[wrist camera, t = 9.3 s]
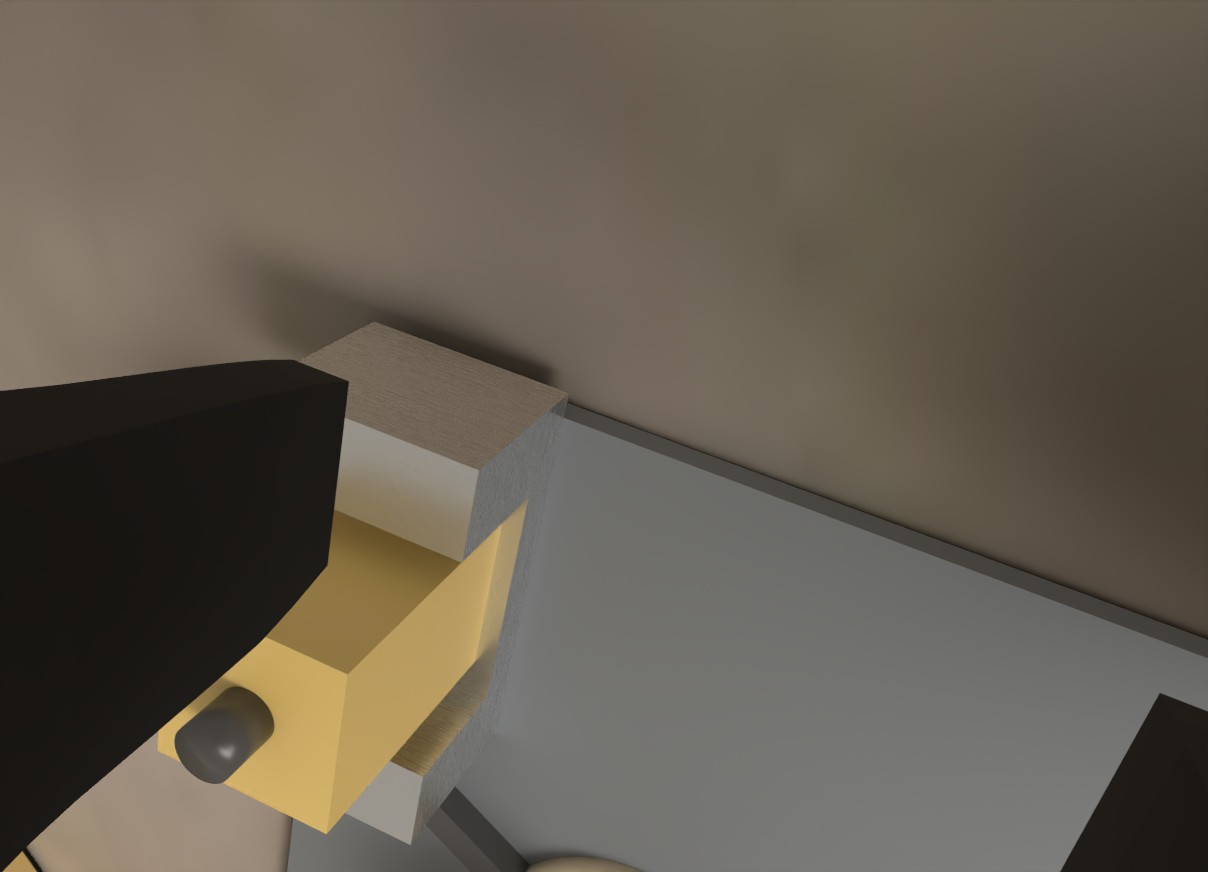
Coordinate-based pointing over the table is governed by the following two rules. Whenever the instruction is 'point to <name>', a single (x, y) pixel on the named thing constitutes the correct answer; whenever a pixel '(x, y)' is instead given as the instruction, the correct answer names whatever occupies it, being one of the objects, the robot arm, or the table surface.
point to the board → (780, 690)
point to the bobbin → (580, 865)
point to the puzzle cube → (23, 863)
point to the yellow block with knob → (339, 675)
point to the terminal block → (444, 521)
